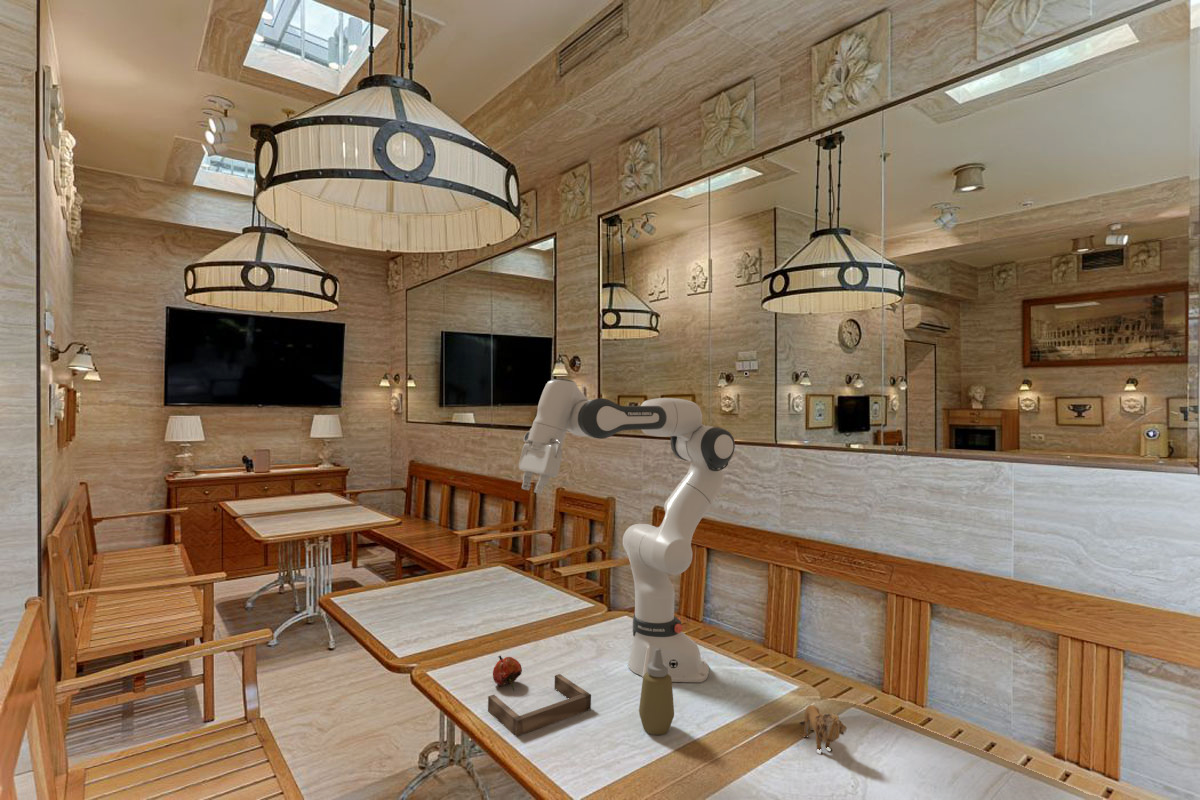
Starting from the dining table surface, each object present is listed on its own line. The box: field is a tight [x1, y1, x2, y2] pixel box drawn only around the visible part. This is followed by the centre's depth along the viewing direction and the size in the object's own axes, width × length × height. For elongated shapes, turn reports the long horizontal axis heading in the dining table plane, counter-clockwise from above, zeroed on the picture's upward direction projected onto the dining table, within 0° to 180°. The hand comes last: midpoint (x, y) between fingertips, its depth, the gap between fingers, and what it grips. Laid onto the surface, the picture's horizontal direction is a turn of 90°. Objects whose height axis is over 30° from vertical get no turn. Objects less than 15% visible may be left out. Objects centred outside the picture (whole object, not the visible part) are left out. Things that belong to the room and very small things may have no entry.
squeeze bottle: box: [638, 649, 675, 736], centre depth 137 cm, size 8×8×18 cm
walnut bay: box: [487, 673, 592, 737], centre depth 144 cm, size 14×20×4 cm, turn 128°
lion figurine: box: [799, 704, 848, 750], centre depth 133 cm, size 15×5×9 cm, turn 13°
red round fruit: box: [492, 655, 523, 691], centre depth 156 cm, size 7×7×10 cm
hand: (531, 491), depth 152 cm, fingers open, 8 cm apart
